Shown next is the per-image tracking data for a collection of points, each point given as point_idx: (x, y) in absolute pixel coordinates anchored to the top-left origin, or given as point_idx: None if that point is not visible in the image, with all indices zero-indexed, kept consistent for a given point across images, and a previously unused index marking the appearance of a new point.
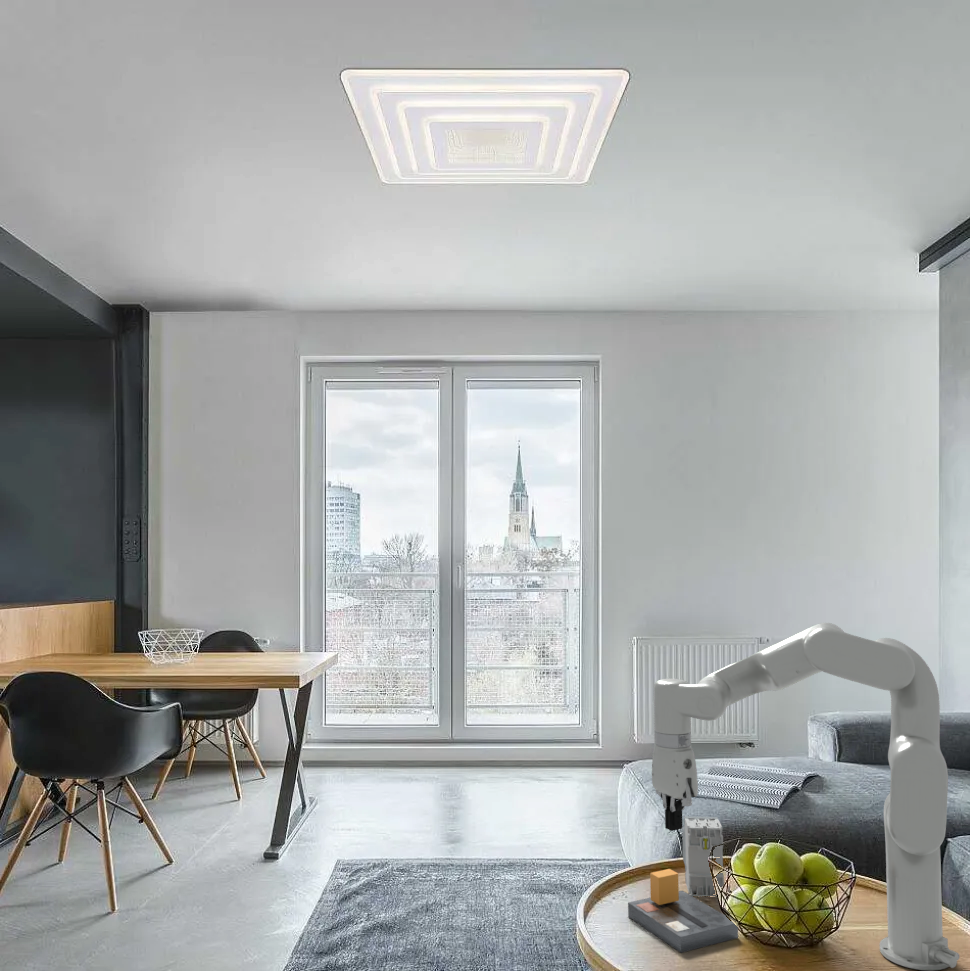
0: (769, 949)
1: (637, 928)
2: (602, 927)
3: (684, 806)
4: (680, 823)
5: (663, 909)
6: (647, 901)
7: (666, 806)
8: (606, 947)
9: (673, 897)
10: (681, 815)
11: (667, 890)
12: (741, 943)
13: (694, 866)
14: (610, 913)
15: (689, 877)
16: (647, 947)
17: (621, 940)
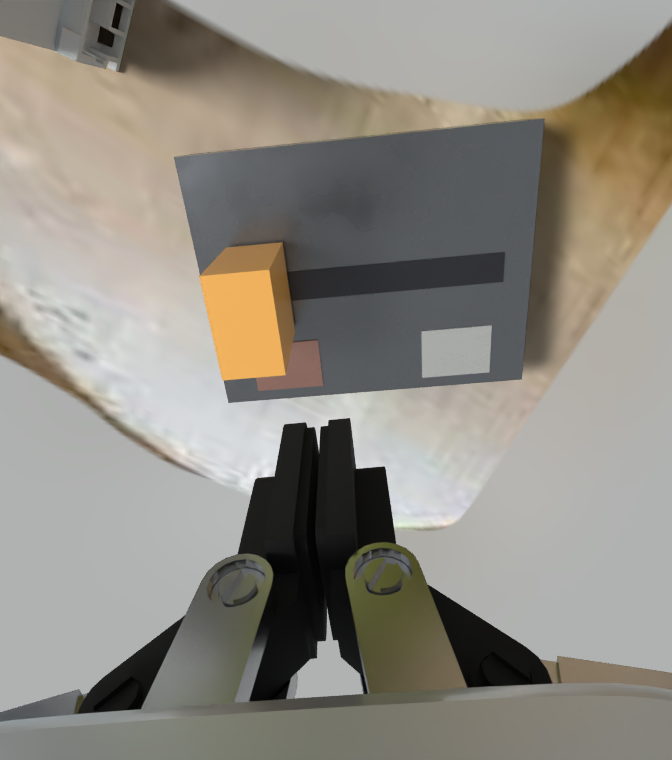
0: (657, 56)
1: None
2: None
3: (485, 623)
4: (385, 480)
5: (320, 325)
6: None
7: (295, 682)
8: None
9: (284, 271)
10: (353, 493)
11: (285, 309)
12: (561, 134)
13: (39, 9)
14: (198, 413)
15: (80, 61)
16: (433, 420)
17: (368, 458)
